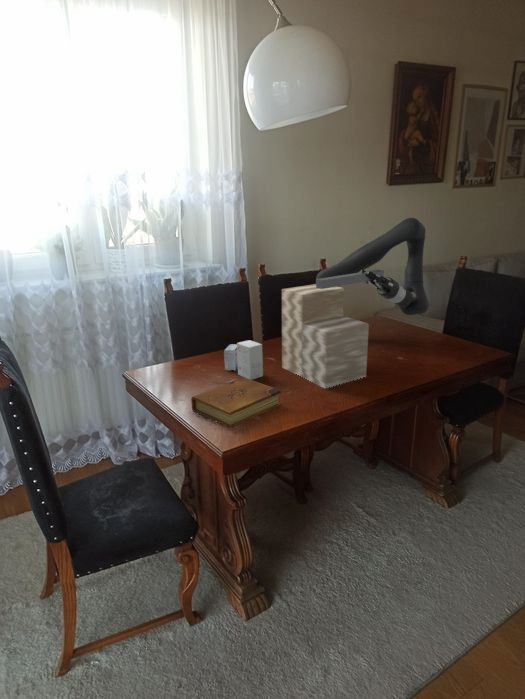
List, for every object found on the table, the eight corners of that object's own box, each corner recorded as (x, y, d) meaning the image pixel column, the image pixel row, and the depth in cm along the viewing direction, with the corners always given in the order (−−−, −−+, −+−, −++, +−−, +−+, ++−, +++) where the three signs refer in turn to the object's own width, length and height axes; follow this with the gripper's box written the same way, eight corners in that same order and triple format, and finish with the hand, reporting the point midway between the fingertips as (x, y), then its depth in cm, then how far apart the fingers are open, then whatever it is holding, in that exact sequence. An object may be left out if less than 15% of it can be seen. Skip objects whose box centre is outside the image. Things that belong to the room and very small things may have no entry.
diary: (242, 391, 182) (242, 376, 180) (280, 406, 169) (280, 390, 168) (192, 411, 166) (191, 395, 165) (230, 429, 154) (229, 411, 152)
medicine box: (235, 371, 200) (234, 350, 197) (224, 370, 201) (223, 349, 198) (240, 364, 207) (239, 344, 205) (229, 363, 208) (229, 343, 206)
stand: (282, 367, 203) (281, 289, 193) (320, 358, 213) (322, 283, 203) (325, 388, 181) (327, 301, 171) (366, 377, 192) (370, 294, 182)
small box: (263, 376, 194) (262, 344, 190) (250, 380, 190) (249, 347, 186) (250, 370, 200) (249, 339, 196) (237, 374, 196) (236, 342, 192)
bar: (316, 287, 177) (316, 279, 176) (377, 277, 192) (378, 269, 191) (321, 289, 174) (321, 280, 173) (383, 278, 190) (383, 270, 189)
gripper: (382, 279, 201) (355, 261, 191) (409, 284, 190) (382, 265, 180) (374, 296, 201) (347, 279, 191) (401, 302, 190) (374, 284, 180)
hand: (364, 272), depth 185 cm, fingers closed on bar, 3 cm apart
